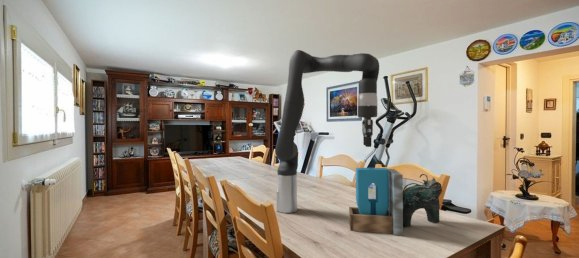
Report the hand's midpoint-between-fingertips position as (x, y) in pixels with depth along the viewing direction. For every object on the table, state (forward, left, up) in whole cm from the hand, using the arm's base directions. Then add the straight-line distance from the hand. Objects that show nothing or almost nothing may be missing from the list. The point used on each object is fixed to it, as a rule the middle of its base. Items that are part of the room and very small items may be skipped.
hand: (367, 145), depth 106 cm
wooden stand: (+2, -1, -32) cm, 32 cm away
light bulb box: (+9, +33, -32) cm, 47 cm away
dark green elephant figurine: (+21, +6, -32) cm, 39 cm away
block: (+2, -1, -29) cm, 29 cm away
